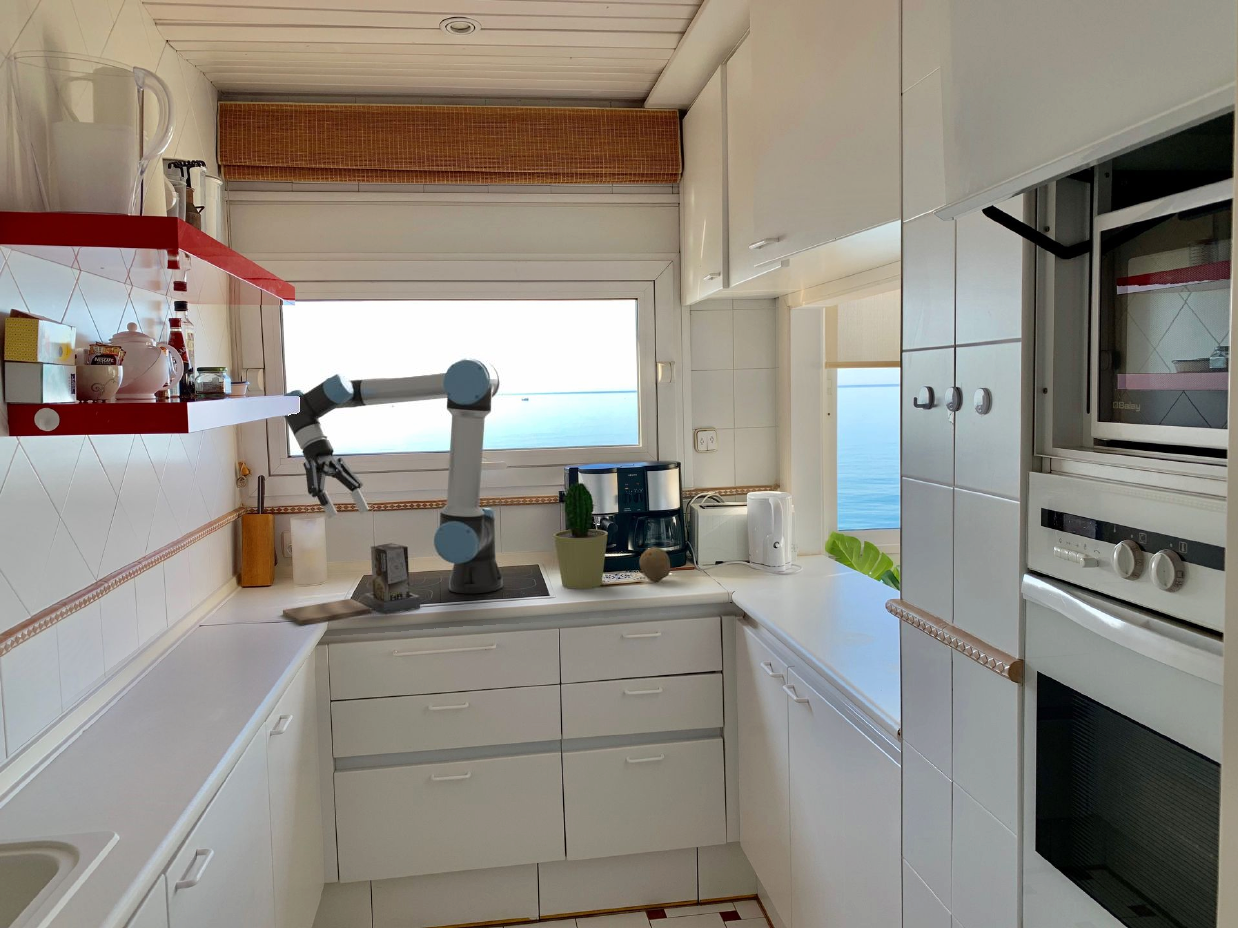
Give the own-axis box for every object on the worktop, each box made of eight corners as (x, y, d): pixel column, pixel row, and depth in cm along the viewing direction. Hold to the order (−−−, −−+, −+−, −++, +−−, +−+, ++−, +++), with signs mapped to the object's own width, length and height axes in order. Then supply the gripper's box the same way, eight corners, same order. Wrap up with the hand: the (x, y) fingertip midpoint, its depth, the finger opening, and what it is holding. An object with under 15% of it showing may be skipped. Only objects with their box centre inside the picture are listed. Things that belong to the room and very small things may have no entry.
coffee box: (411, 607, 243) (408, 546, 241) (389, 611, 238) (386, 549, 237) (394, 601, 249) (392, 542, 248) (372, 605, 245) (369, 545, 244)
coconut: (641, 577, 271) (640, 544, 270) (671, 577, 270) (670, 544, 269) (638, 584, 262) (638, 550, 261) (670, 584, 261) (669, 550, 260)
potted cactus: (616, 587, 260) (614, 481, 257) (563, 592, 255) (560, 484, 252) (599, 576, 274) (596, 476, 271) (549, 581, 269) (545, 479, 266)
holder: (399, 598, 252) (399, 587, 252) (420, 607, 242) (419, 596, 241) (364, 604, 246) (363, 593, 246) (383, 614, 236) (383, 602, 235)
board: (351, 602, 248) (350, 598, 248) (371, 612, 237) (370, 608, 237) (282, 614, 238) (282, 609, 238) (300, 625, 227) (300, 620, 226)
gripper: (334, 450, 261) (367, 516, 258) (272, 452, 238) (308, 524, 235) (353, 437, 259) (387, 503, 256) (292, 437, 235) (329, 510, 232)
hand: (349, 513), depth 245 cm, fingers open, 13 cm apart
